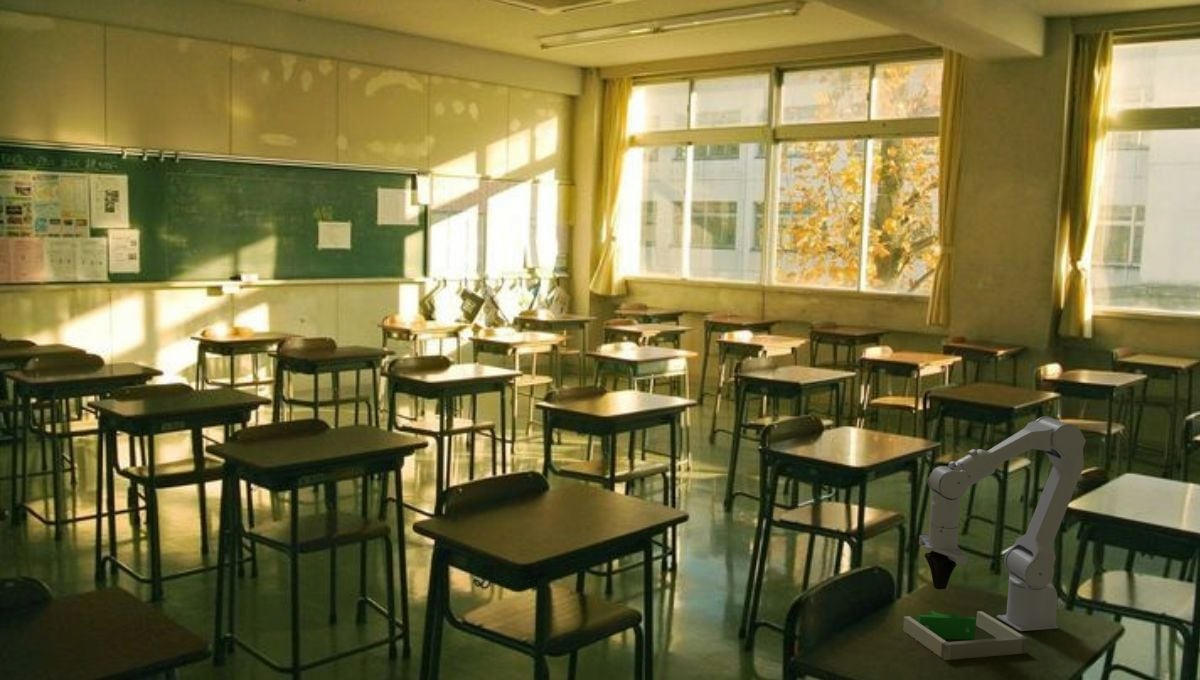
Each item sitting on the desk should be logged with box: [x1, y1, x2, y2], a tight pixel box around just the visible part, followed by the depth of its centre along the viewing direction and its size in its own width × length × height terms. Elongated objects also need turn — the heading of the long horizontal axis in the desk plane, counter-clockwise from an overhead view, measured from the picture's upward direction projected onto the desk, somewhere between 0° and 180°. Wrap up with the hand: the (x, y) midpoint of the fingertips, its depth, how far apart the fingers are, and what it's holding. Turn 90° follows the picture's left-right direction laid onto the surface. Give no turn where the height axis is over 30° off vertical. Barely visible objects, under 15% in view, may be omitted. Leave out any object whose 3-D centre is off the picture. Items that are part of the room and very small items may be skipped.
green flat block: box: [917, 610, 976, 641], centre depth 208 cm, size 11×4×5 cm, turn 88°
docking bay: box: [902, 610, 1029, 661], centre depth 205 cm, size 18×15×3 cm
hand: (939, 588), depth 213 cm, fingers closed
